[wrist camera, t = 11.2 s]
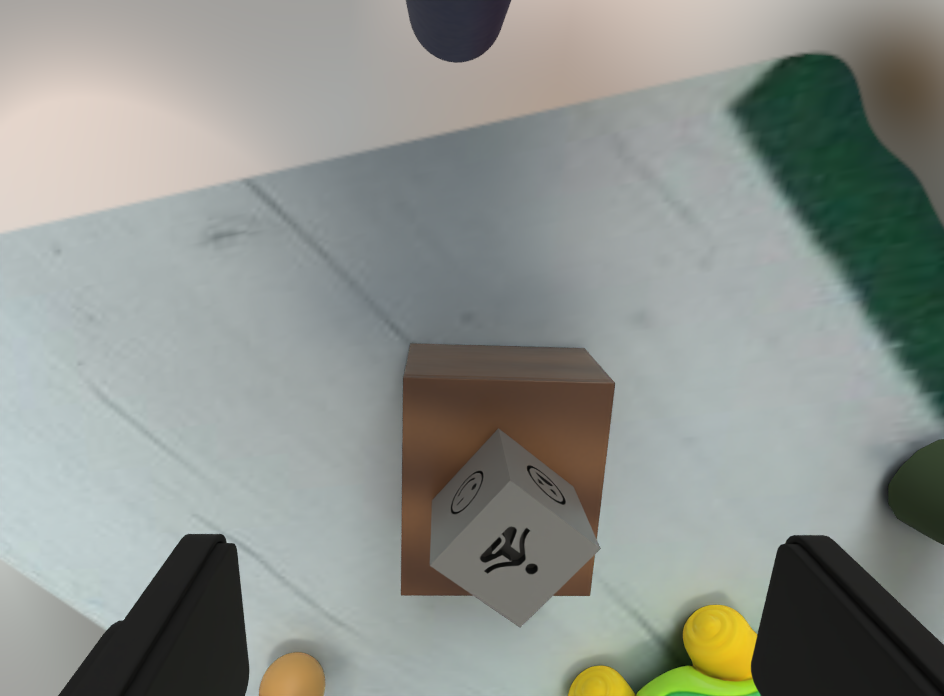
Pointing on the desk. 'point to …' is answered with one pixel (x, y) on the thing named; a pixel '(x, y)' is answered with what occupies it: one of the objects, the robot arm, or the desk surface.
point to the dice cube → (509, 529)
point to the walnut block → (479, 416)
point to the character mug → (921, 491)
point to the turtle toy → (713, 656)
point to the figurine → (293, 677)
